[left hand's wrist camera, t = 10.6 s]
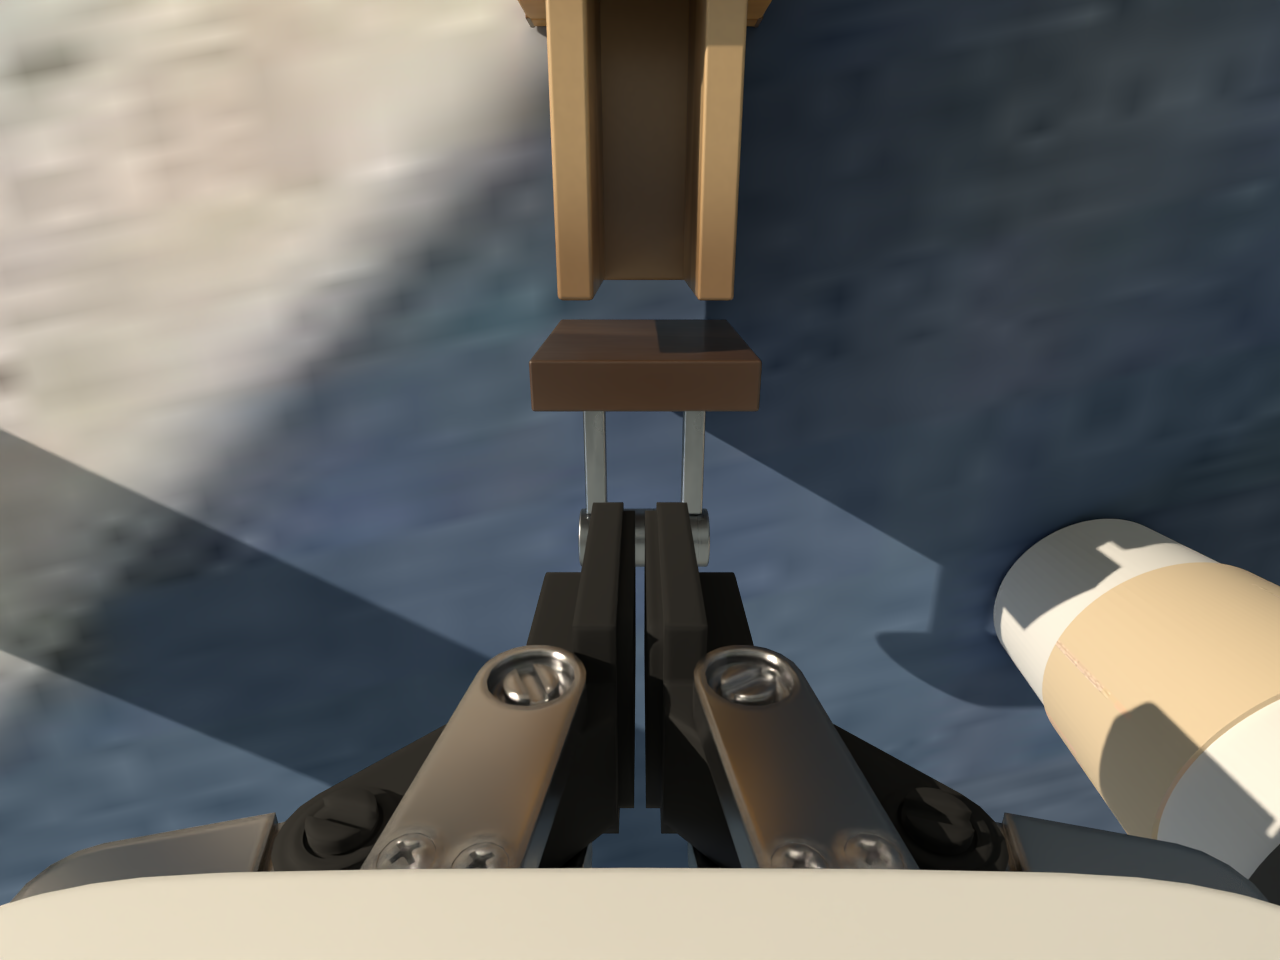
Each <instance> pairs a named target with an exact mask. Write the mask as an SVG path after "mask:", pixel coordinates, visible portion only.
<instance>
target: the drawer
mask: <svg viewBox="0 0 1280 960" xmlns="http://www.w3.org/2000/svg"><path fill="white" fill-rule="evenodd" d="M545 1H546V25H547V49H548V73H549V97H550V120H551V144H552V168H553V192H554V216H555V240H556V264H557V287H558V297H559V299H561V300H591V299H593V297H594V296H595V294H596V292H597V290H598V289H599V287H600V285H601V284H602V282H603V280H685V282H686V283H687V284H688V286H689V287H690V288H691V290H692V291H693V293H694V294H695V295H696V297H697V298H698V299H699V300H732V299H733V297H734V276H735V256H736V235H737V214H738V193H739V172H740V152H741V131H742V110H743V89H744V68H745V48H746V27H747V6H748V0H545ZM529 370H530V387H531V404H532V410H533V411H583V421H584V454H585V486H586V509H581V512H580V518H579V560H580V565H581V566H582V565H583V559H584V553H585V547H586V541H587V535H588V529H589V523H590V517H591V511H592V505H593V502H607V458H606V411H683V431H682V474H681V502H687V505H688V511H689V517H690V523H691V529H692V535H693V541H694V547H695V553H696V559H697V565H698V567H706V566H707V565H708V562H709V552H710V527H709V516H708V511H707V509H702V499H703V471H704V443H705V415H706V411H758V409H759V401H760V385H761V370H762V362H761V360H760V359H759V358H758V357H757V355H756V354H755V353H754V352H753V351H752V349H751V348H750V347H749V346H748V345H747V344H746V342H745V341H744V340H743V339H742V338H741V337H740V335H739V334H738V333H737V332H736V331H735V330H734V328H733V327H732V326H731V325H730V324H729V323H728V321H727V320H561V321H560V322H559V324H558V325H557V326H556V327H555V329H554V330H553V331H552V333H551V334H550V335H549V337H548V338H547V339H546V340H545V342H544V343H543V344H542V346H541V347H540V348H539V350H538V351H537V352H536V353H535V355H534V356H533V357H532V359H531V360H530V362H529ZM624 510H635V567H645V510H656V509H624Z"/></svg>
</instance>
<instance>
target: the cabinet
mask: <svg viewBox="0 0 1280 960" xmlns="http://www.w3.org/2000/svg"><path fill="white" fill-rule="evenodd" d="M518 1H519V3H520V5H521V7H522V9H523V10H524V12H525V14H526V19H527V21H528V23H529V25H530V26H531V27H535V26H547V25H546V1H545V0H518ZM771 1H772V0H748V6H747V26H753V27H758V26H759V24H760V22H761V21H762V19H763V14H764V13H765V11H766V9H767V8H768V6H769V4H770V3H771Z"/></svg>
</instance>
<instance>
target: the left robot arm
mask: <svg viewBox="0 0 1280 960" xmlns="http://www.w3.org/2000/svg"><path fill="white" fill-rule="evenodd" d="M635 656H636V628H635V510H624V508H623V502H593V505H592V511H591V517H590V523H589V529H588V535H587V541H586V547H585V553H584V559H583V565H582V571H581V572H547V573H546V575H545V577H544V581H543V585H542V589H541V592H540V596H539V600H538V604H537V607H536V611H535V615H534V619H533V622H532V626H531V630H530V634H529V637H528V641H527V645H526V646H522V647H517V648H513V649H510V650H508V651H505V652H503V653H500V654H498V655H497V656H495V657H494V658H492V659H491V660H489V661H487V662H486V663H485V665H484V666H483V667H482V668H481V669H480V670H479V672H478V673H477V675H476V676H475V678H474V680H473V681H472V683H471V685H470V686H469V688H468V690H467V691H466V693H465V695H464V696H463V698H462V700H461V701H460V703H459V705H458V706H457V708H456V710H455V711H454V713H453V715H452V716H451V718H450V720H449V721H448V723H447V724H446V725H444V726H442V727H440V728H438V729H437V730H435V731H433V732H431V733H429V734H427V735H426V736H424V737H422V738H420V739H418V740H416V741H415V742H413V743H411V744H409V745H407V746H406V747H404V748H402V749H400V750H398V751H396V752H395V753H393V754H391V755H389V756H387V757H385V758H384V759H382V760H380V761H378V762H376V763H374V764H373V765H371V766H369V767H367V768H365V769H364V770H362V771H360V772H358V773H356V774H354V775H353V776H351V777H349V778H347V779H345V780H343V781H342V782H340V783H338V784H336V785H334V786H332V787H331V788H329V789H327V790H325V791H323V792H322V793H320V794H318V795H317V796H315V797H314V798H312V799H311V800H309V801H308V802H306V803H305V804H303V805H302V806H300V807H299V808H298V809H297V810H296V811H295V812H294V813H293V814H292V815H291V816H290V817H289V818H288V819H287V820H286V821H285V822H282V823H278V821H277V817H276V813H269V814H264V815H258V816H253V817H247V818H242V819H236V820H231V821H225V822H219V823H214V824H208V825H203V826H197V827H192V828H186V829H181V830H175V831H169V832H164V833H158V834H153V835H147V836H142V837H136V838H131V839H125V840H119V841H114V842H108V843H103V844H100V845H97V846H93V847H90V848H87V849H83V850H80V851H77V852H75V853H73V854H71V855H69V856H68V857H66V858H64V859H62V860H60V861H58V862H56V863H54V864H52V865H50V866H49V867H48V868H46V869H45V870H44V871H42V872H41V873H40V874H39V875H37V876H36V877H35V878H33V879H32V880H31V881H29V882H28V883H27V884H26V885H25V886H24V887H23V888H22V889H21V890H20V892H19V893H18V894H17V895H16V896H15V897H14V898H13V900H12V901H11V902H10V903H8V904H5V905H1V906H0V960H1280V906H1279V905H1275V904H1272V903H1270V902H1269V901H1268V900H1267V898H1266V897H1265V896H1264V895H1263V894H1262V893H1261V892H1260V890H1259V889H1258V888H1257V887H1256V886H1255V885H1254V884H1253V883H1252V882H1251V881H1249V880H1248V879H1247V878H1245V877H1244V876H1243V875H1241V874H1240V873H1239V872H1238V871H1236V870H1235V869H1234V868H1232V867H1231V866H1230V865H1228V864H1226V863H1224V862H1222V861H1220V860H1218V859H1216V858H1214V857H1212V856H1211V855H1209V854H1207V853H1205V852H1203V851H1200V850H1197V849H1193V848H1190V847H1187V846H1183V845H1180V844H1177V843H1172V842H1166V841H1161V840H1155V839H1149V838H1144V837H1138V836H1133V835H1127V834H1122V833H1116V832H1111V831H1105V830H1099V829H1094V828H1088V827H1083V826H1077V825H1072V824H1066V823H1061V822H1055V821H1049V820H1044V819H1038V818H1033V817H1027V816H1022V815H1016V814H1011V813H1004V817H1003V821H1002V823H998V822H995V821H994V820H993V819H992V818H991V817H990V816H989V815H988V814H987V813H986V812H985V811H984V810H983V809H982V808H981V807H980V806H978V805H977V804H975V803H974V802H972V801H971V800H969V799H968V798H966V797H965V796H963V795H962V794H960V793H958V792H957V791H955V790H953V789H951V788H949V787H948V786H946V785H944V784H942V783H940V782H938V781H937V780H935V779H933V778H931V777H929V776H927V775H926V774H924V773H922V772H920V771H918V770H916V769H915V768H913V767H911V766H909V765H907V764H906V763H904V762H902V761H900V760H898V759H896V758H895V757H893V756H891V755H889V754H887V753H885V752H884V751H882V750H880V749H878V748H876V747H874V746H873V745H871V744H869V743H867V742H865V741H864V740H862V739H860V738H858V737H856V736H854V735H853V734H851V733H849V732H847V731H845V730H843V729H842V728H840V727H838V726H836V725H834V724H833V723H832V721H831V720H830V718H829V716H828V715H827V713H826V711H825V710H824V708H823V706H822V705H821V703H820V701H819V700H818V698H817V696H816V695H815V693H814V691H813V690H812V688H811V686H810V685H809V683H808V681H807V680H806V678H805V676H804V675H803V673H802V672H801V670H800V669H799V668H798V667H797V666H796V665H795V663H794V662H793V661H791V660H789V659H788V658H786V657H785V656H783V655H782V654H780V653H777V652H775V651H772V650H770V649H767V648H763V647H758V646H754V645H753V641H752V637H751V634H750V630H749V626H748V622H747V619H746V615H745V611H744V607H743V604H742V600H741V596H740V592H739V589H738V585H737V581H736V577H735V575H734V573H733V572H699V571H698V565H697V559H696V553H695V547H694V541H693V535H692V529H691V523H690V517H689V511H688V505H687V502H657V508H656V510H645V628H644V656H645V755H646V808H660V810H661V833H677V834H679V835H680V836H681V837H682V838H684V839H685V840H686V841H687V842H688V866H689V868H591V866H592V842H593V841H594V840H595V839H596V838H598V837H599V836H600V835H601V834H603V833H619V810H620V808H634V755H635Z"/></svg>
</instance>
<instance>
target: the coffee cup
mask: <svg viewBox="0 0 1280 960" xmlns="http://www.w3.org/2000/svg"><path fill="white" fill-rule="evenodd" d="M994 626H995V630H996V634H997V636H998V639H999V641H1000V642H1001V644H1002V646H1003V647H1004V649H1005V650H1006V651H1007V653H1008V654H1009V656H1010V657H1011V659H1012V660H1013V662H1014V663H1015V664H1016V666H1017V667H1018V669H1019V670H1020V672H1021V673H1022V674H1023V676H1024V677H1025V679H1026V680H1027V682H1028V683H1029V684H1030V686H1031V687H1032V689H1033V690H1034V692H1035V693H1036V694H1037V696H1038V697H1039V699H1040V700H1041V702H1042V703H1043V704H1044V707H1045V710H1046V713H1047V716H1048V718H1049V720H1050V722H1051V723H1052V725H1053V727H1054V728H1055V729H1056V731H1057V732H1058V734H1059V735H1060V737H1061V738H1062V740H1063V741H1064V743H1065V744H1066V745H1067V747H1068V748H1069V750H1070V751H1071V753H1072V754H1073V756H1074V757H1075V758H1076V760H1077V761H1078V763H1079V764H1080V766H1081V767H1082V769H1083V770H1084V772H1085V773H1086V774H1087V776H1088V777H1089V779H1090V780H1091V782H1092V783H1093V785H1094V786H1095V788H1096V789H1097V790H1098V792H1099V793H1100V795H1101V796H1102V798H1103V799H1104V801H1105V802H1106V803H1107V805H1108V806H1109V808H1110V809H1111V811H1112V812H1113V814H1114V815H1115V817H1116V818H1117V819H1118V821H1119V822H1120V824H1121V825H1122V827H1123V828H1124V830H1125V831H1126V833H1127V834H1128V835H1133V836H1138V837H1144V838H1149V839H1155V840H1161V841H1166V842H1172V843H1177V844H1180V845H1183V846H1187V847H1190V848H1193V849H1197V850H1200V851H1203V852H1205V853H1207V854H1209V855H1211V856H1212V857H1214V858H1216V859H1218V860H1220V861H1222V862H1224V863H1226V864H1228V865H1230V866H1231V867H1232V868H1234V869H1235V870H1236V871H1238V872H1239V873H1240V874H1241V875H1243V876H1244V877H1245V878H1247V879H1248V880H1249V881H1251V882H1252V883H1253V884H1254V885H1255V886H1256V887H1257V888H1258V889H1259V890H1260V892H1261V893H1262V894H1263V895H1264V896H1265V897H1266V898H1267V900H1268V901H1269V902H1270V903H1272V904H1275V905H1279V906H1280V586H1278V585H1276V584H1274V583H1272V582H1269V581H1267V580H1265V579H1263V578H1261V577H1259V576H1257V575H1255V574H1253V573H1251V572H1248V571H1246V570H1244V569H1241V568H1238V567H1234V566H1231V565H1226V564H1221V563H1219V562H1217V561H1215V560H1213V559H1210V558H1208V557H1206V556H1204V555H1202V554H1200V553H1198V552H1196V551H1194V550H1192V549H1190V548H1188V547H1186V546H1184V545H1182V544H1180V543H1178V542H1176V541H1174V540H1172V539H1170V538H1168V537H1166V536H1164V535H1162V534H1160V533H1157V532H1155V531H1153V530H1151V529H1149V528H1147V527H1145V526H1143V525H1141V524H1138V523H1135V522H1131V521H1127V520H1121V519H1097V520H1090V521H1085V522H1080V523H1077V524H1073V525H1070V526H1068V527H1065V528H1063V529H1060V530H1058V531H1056V532H1054V533H1052V534H1050V535H1048V536H1047V537H1045V538H1043V539H1042V540H1040V541H1039V542H1037V543H1036V544H1035V545H1033V546H1032V547H1031V548H1030V549H1028V550H1027V551H1026V552H1025V553H1024V554H1023V555H1022V556H1021V557H1020V558H1019V559H1018V560H1017V561H1016V562H1015V564H1014V565H1013V566H1012V567H1011V569H1010V570H1009V571H1008V573H1007V575H1006V576H1005V578H1004V580H1003V581H1002V583H1001V586H1000V588H999V590H998V593H997V596H996V600H995V605H994Z"/></svg>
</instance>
